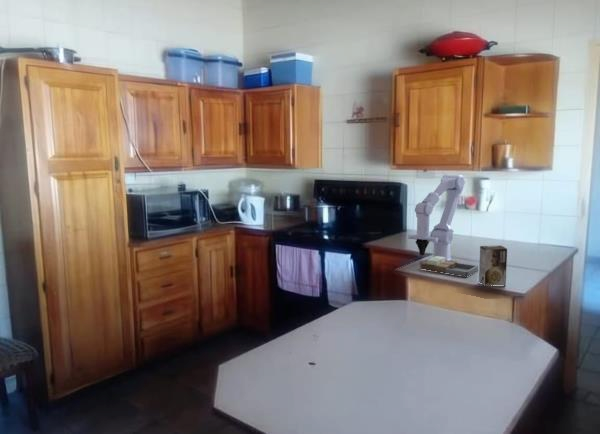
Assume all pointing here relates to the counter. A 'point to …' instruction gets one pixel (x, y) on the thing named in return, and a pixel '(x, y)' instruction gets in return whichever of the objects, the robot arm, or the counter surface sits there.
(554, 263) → the counter surface
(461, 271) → the box
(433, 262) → the sage tile
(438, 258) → the cream tile
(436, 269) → the flat brown block
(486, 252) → the coffee box
